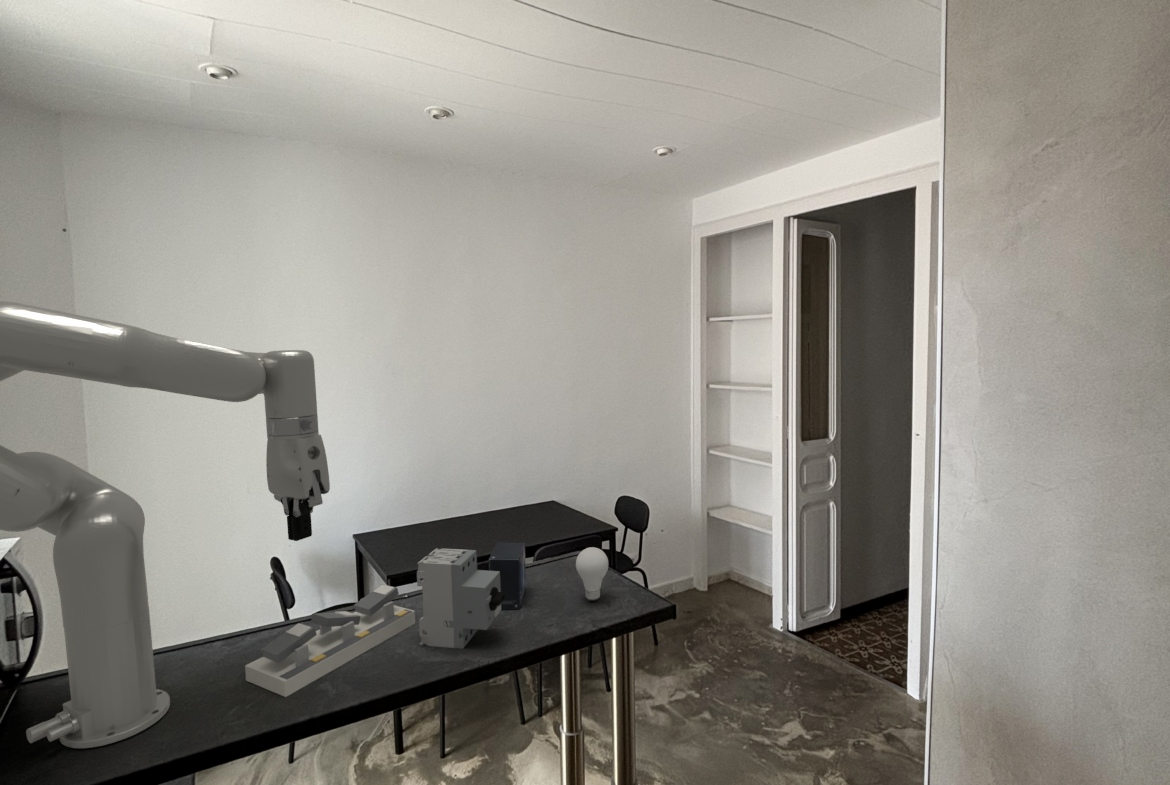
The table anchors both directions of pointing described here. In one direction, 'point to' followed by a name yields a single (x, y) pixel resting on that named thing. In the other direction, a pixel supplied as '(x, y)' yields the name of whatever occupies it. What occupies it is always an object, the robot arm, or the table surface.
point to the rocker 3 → (376, 600)
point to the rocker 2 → (335, 619)
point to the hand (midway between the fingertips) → (300, 537)
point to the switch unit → (328, 650)
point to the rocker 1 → (288, 642)
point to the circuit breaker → (456, 597)
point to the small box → (510, 572)
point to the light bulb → (592, 570)
